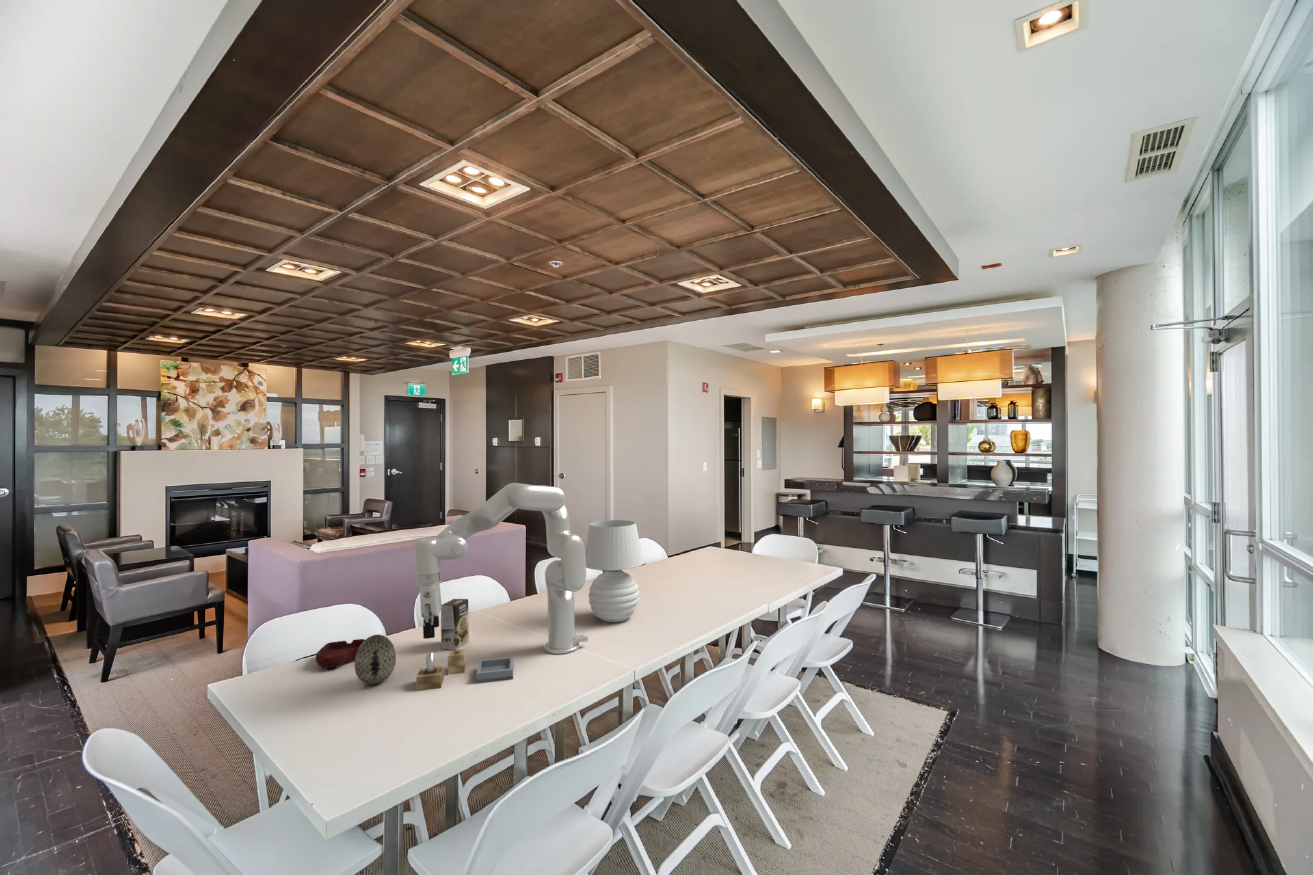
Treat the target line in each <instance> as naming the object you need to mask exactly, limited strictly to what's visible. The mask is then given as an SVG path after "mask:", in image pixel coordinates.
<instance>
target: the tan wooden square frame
mask: <svg viewBox="0 0 1313 875" xmlns="http://www.w3.org/2000/svg"><path fill="white" fill-rule="evenodd" d="M417 672H418V673H417V675H416V680H415V681H416V682H415V684H416V691H418V692H419V691H425V690H434V689H442V686H443V682H444V679H445V678H444V677H445V674H444V672H445V669H444V665H440V666H434V674H427V668H426V667H422V668H419V670H418V671H417Z"/></svg>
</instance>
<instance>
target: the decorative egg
mask: <svg viewBox="0 0 1313 875" xmlns="http://www.w3.org/2000/svg"><path fill="white" fill-rule="evenodd" d="M396 662H397V656H396V649H395V646H394V644H393V642H392V641H391V640H390V639H389V638H388V637H386V636H385V635H384V634H383V635H382V634H372V635H370V636H368V637H367V638H365V641H364V642H363V643H362V644H361V645H360V647H359V649H358V651H357V653H356V657H355V660H354V671H355V675H356V677H357V678H358V679H359V680H360V681H361V682H362V683H364V684H366V685H378V684H381V683H384V681H386V680H387V679H388V678H389V677H390V676H391V675H392V673H393V671H394V670H395V667H396V664H397V663H396Z"/></svg>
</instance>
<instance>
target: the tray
mask: <svg viewBox="0 0 1313 875" xmlns="http://www.w3.org/2000/svg"><path fill="white" fill-rule="evenodd" d="M508 680H514V657H513V656H508V657H498V658H490V659H489V658H487V659H480V660H478V664H477V670H476V684H480V683H481V684H482V683H490V682H491V683H493V682H499V681H508Z"/></svg>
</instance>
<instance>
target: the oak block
mask: <svg viewBox="0 0 1313 875" xmlns="http://www.w3.org/2000/svg"><path fill="white" fill-rule="evenodd" d="M466 662H467V661H466V649H465V648H464V649H457V650H449V651H448V654H447V674H448V675H457V674H465V672H466V668H467V667H466V666H467V665H466V664H467V663H466Z"/></svg>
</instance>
